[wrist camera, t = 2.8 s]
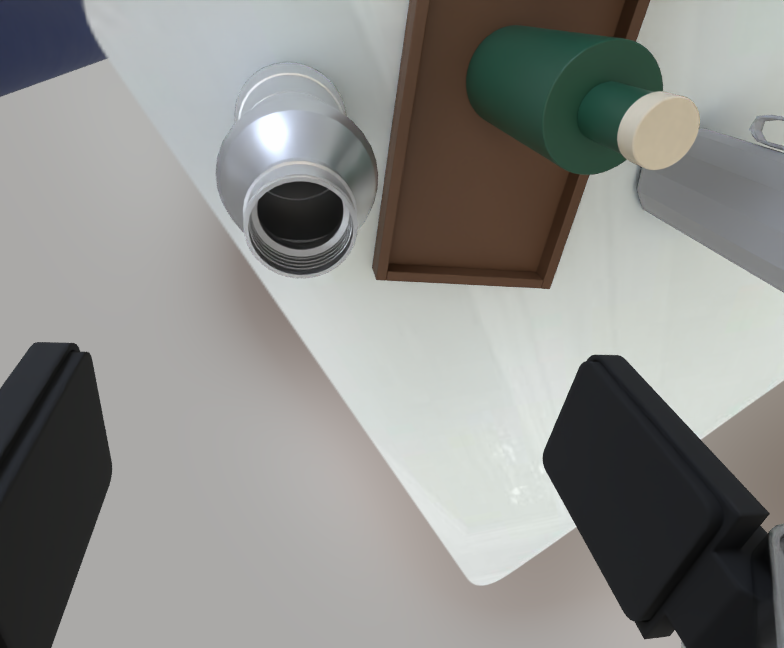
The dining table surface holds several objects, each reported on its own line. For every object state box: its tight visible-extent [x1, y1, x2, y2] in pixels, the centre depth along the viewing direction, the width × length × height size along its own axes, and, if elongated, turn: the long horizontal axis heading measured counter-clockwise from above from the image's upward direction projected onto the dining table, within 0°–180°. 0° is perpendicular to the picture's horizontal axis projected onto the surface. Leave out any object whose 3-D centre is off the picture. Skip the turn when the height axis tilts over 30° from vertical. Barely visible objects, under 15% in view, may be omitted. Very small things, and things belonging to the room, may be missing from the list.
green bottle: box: [466, 25, 700, 175], centre depth 27 cm, size 6×6×17 cm
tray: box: [372, 0, 650, 289], centre depth 33 cm, size 15×30×2 cm, turn 172°
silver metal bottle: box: [216, 62, 378, 278], centre depth 25 cm, size 6×7×20 cm
